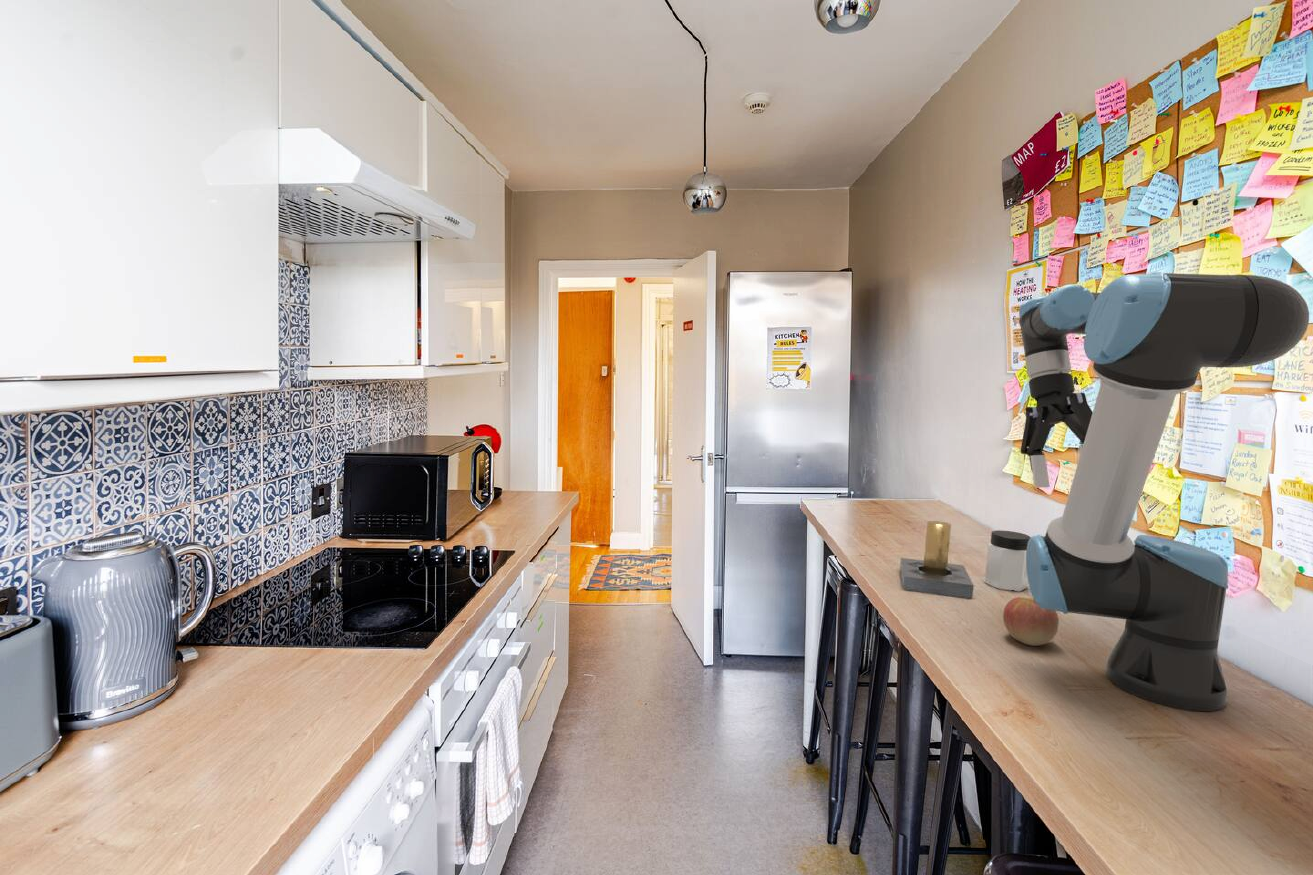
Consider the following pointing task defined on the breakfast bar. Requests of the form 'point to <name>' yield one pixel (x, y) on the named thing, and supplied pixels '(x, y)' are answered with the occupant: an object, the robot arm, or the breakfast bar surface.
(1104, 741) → the breakfast bar surface
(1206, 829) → the breakfast bar surface
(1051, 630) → the apple
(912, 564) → the jig
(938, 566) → the brass cylinder
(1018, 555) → the jar
